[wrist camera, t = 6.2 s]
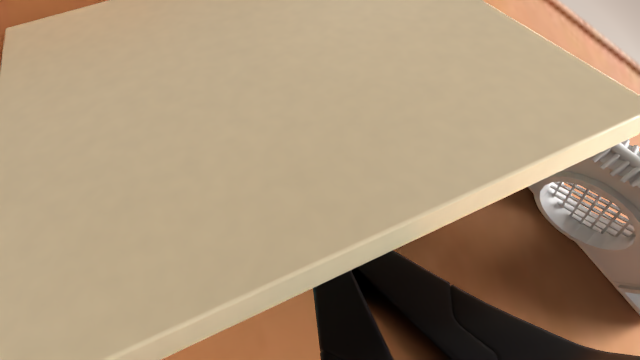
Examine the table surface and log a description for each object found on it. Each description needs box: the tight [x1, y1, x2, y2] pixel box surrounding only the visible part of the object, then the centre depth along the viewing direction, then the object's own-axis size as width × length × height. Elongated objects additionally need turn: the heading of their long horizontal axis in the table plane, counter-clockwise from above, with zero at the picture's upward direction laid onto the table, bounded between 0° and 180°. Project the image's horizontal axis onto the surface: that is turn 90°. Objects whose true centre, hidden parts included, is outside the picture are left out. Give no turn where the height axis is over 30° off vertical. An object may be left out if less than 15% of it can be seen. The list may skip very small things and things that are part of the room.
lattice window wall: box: [528, 139, 640, 315], centre depth 17 cm, size 12×2×6 cm, turn 42°
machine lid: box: [0, 0, 640, 360], centre depth 9 cm, size 11×11×1 cm
